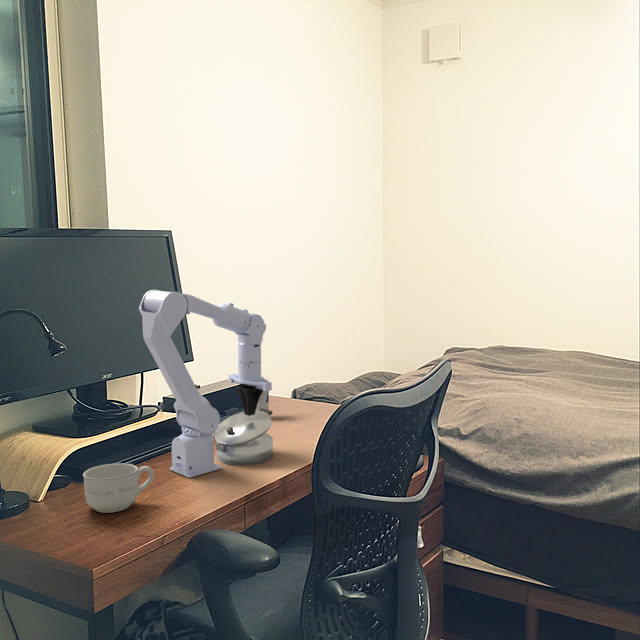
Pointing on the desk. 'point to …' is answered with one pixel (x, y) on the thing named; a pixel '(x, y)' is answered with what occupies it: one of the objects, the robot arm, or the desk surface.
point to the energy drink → (263, 400)
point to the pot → (247, 451)
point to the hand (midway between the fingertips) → (249, 414)
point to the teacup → (114, 486)
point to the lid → (243, 427)
